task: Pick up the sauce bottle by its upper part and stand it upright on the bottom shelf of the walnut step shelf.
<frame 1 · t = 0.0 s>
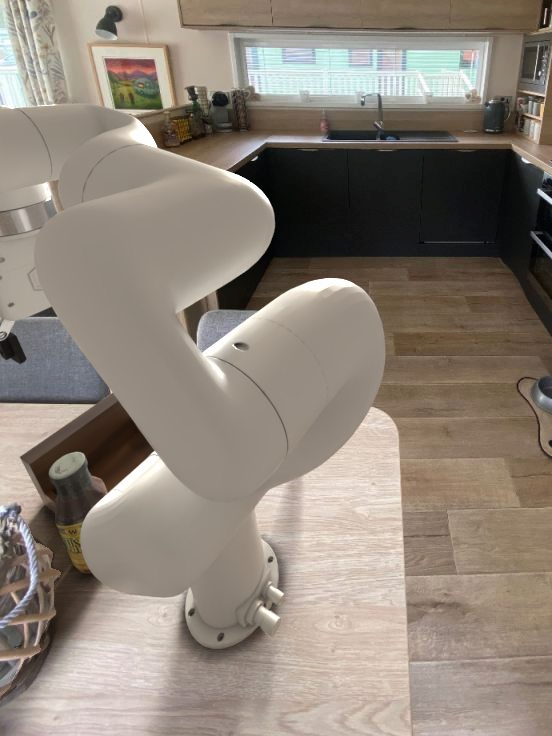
hand: (62, 336, 52), 37 cm above the table, tool pointing down, fingers open, 9 cm apart
sauce bottle: (102, 553, 60), on the table
step shelf: (113, 478, 71), on the table
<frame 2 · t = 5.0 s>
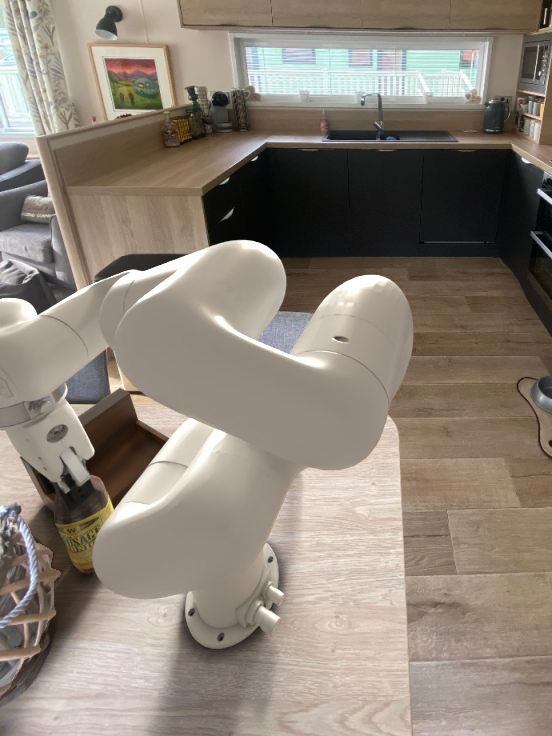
hand: (70, 491, 54), 15 cm above the table, tool pointing down, fingers closed on sauce bottle, 4 cm apart
sauce bottle: (102, 552, 60), on the table, touching gripper
when the fingers open (18 cm above the table, at t = 11.9 s): sauce bottle stays where it is, resting on step shelf.
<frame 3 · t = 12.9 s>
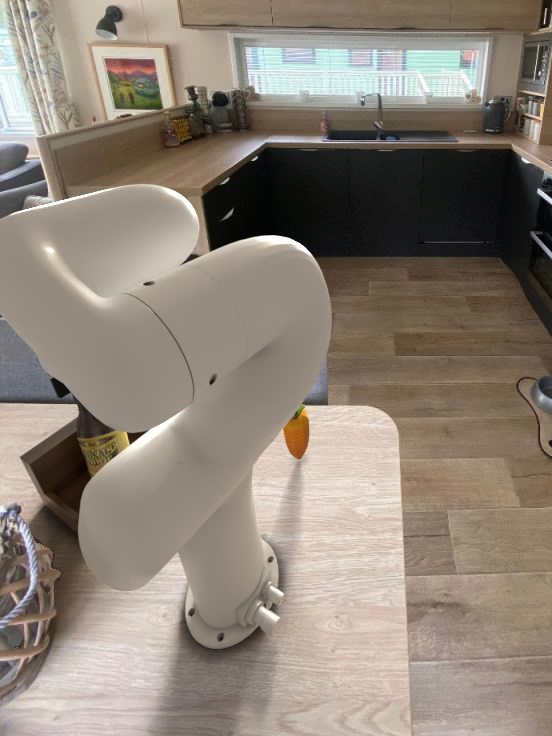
hand: (86, 402, 63), 20 cm above the table, tool pointing down, fingers open, 9 cm apart
sauce bottle: (116, 471, 69), point 3 cm above the table, touching step shelf
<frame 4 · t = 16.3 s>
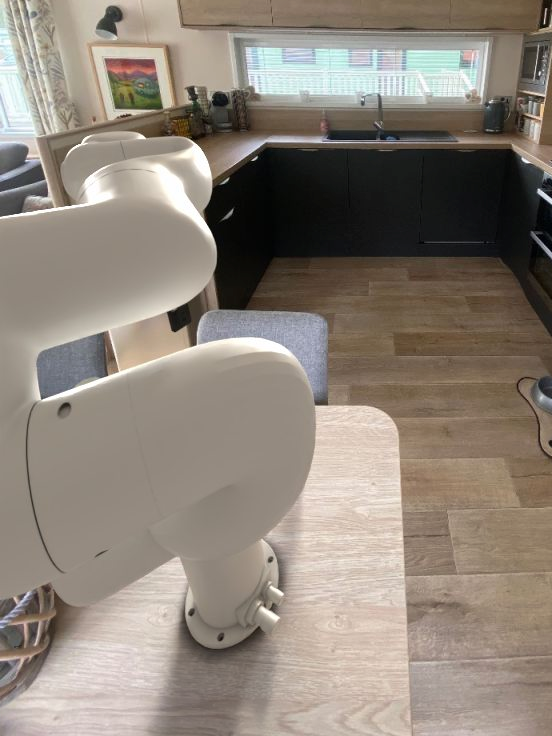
hand: (161, 318, 63), 32 cm above the table, tool pointing down, fingers open, 9 cm apart
nothing on the table moved.
at the end: sauce bottle inside the target area on the step shelf (0.3 cm from its centre), point 2.8 cm above the step shelf's base; sauce bottle tilted 0°; the gripper is holding nothing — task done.
